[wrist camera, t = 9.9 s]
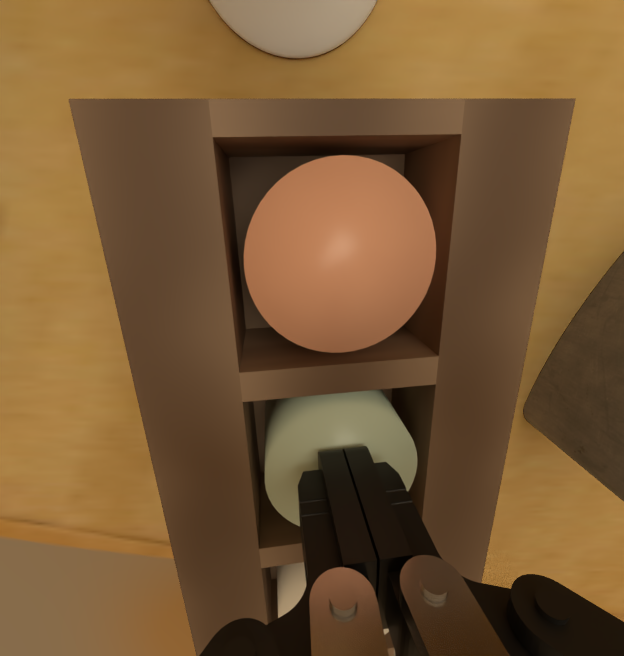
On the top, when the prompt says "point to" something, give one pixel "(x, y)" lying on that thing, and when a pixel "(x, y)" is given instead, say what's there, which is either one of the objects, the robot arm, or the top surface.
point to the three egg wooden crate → (294, 360)
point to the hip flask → (588, 385)
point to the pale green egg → (330, 439)
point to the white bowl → (294, 23)
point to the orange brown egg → (339, 253)
